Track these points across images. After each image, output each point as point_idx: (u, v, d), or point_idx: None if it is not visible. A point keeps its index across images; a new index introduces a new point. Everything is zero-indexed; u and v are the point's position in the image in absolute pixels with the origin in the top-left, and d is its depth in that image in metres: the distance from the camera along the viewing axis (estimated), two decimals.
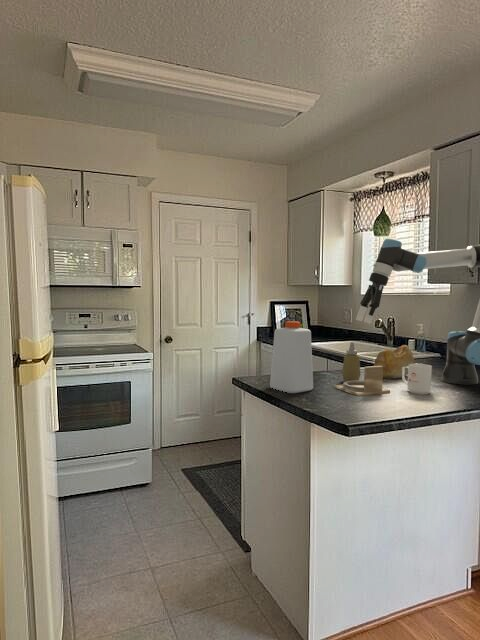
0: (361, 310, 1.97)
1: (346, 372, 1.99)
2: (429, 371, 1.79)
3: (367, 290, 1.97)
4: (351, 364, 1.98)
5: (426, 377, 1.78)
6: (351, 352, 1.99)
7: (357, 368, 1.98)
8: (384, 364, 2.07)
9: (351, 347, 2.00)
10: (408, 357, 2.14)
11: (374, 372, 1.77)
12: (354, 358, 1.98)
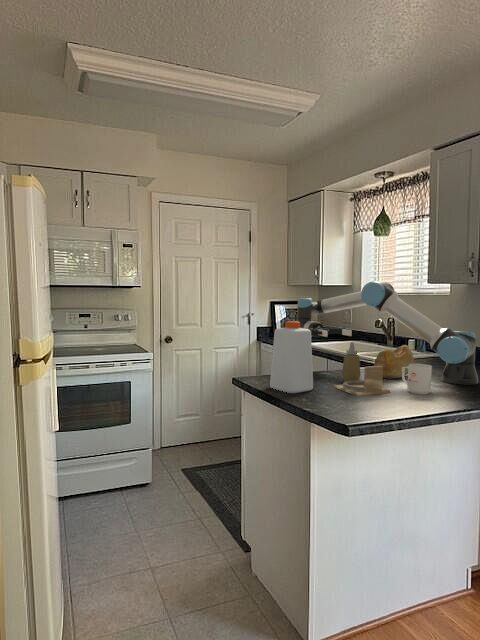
0: (344, 333, 2.16)
1: (346, 372, 1.99)
2: (429, 371, 1.79)
3: None
4: (351, 364, 1.98)
5: (426, 377, 1.78)
6: (351, 352, 1.99)
7: (357, 368, 1.98)
8: (384, 364, 2.07)
9: (351, 347, 2.00)
10: (408, 357, 2.14)
11: (374, 372, 1.77)
12: (354, 358, 1.98)
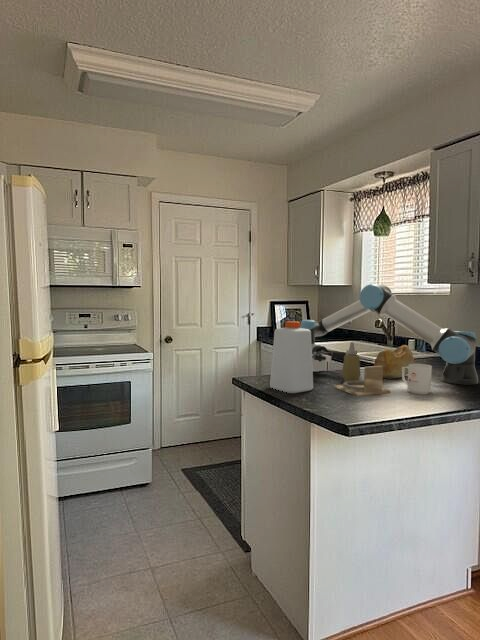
0: None
1: (346, 372, 1.99)
2: (429, 371, 1.79)
3: None
4: (351, 364, 1.98)
5: (426, 377, 1.78)
6: (351, 352, 1.99)
7: (357, 368, 1.98)
8: (384, 364, 2.07)
9: (351, 347, 2.00)
10: (408, 357, 2.14)
11: (374, 372, 1.77)
12: (354, 358, 1.98)
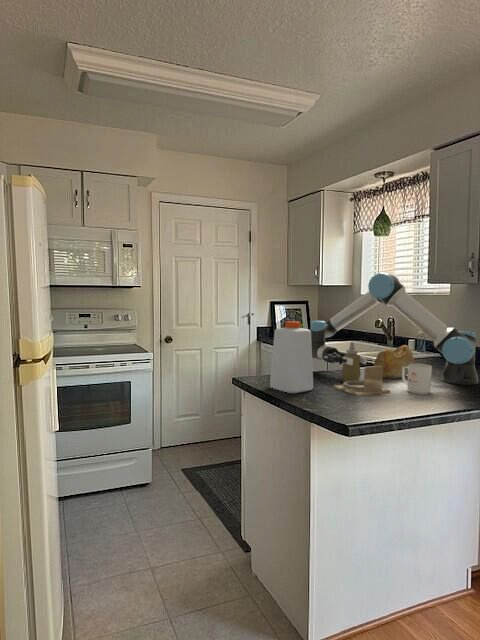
0: None
1: (346, 372, 1.99)
2: (429, 371, 1.79)
3: None
4: None
5: (426, 377, 1.78)
6: (351, 352, 1.99)
7: (357, 368, 1.98)
8: (384, 364, 2.07)
9: (351, 347, 2.00)
10: (408, 357, 2.14)
11: (374, 372, 1.77)
12: (354, 358, 1.98)
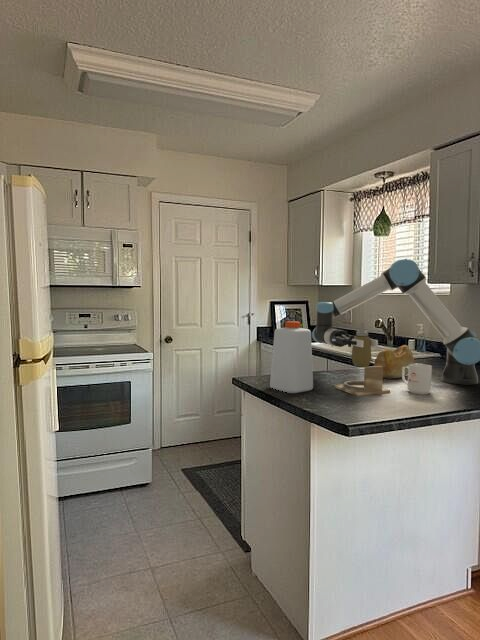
0: None
1: (356, 355, 1.82)
2: (429, 371, 1.79)
3: None
4: (362, 347, 1.81)
5: (426, 377, 1.78)
6: (361, 333, 1.82)
7: (368, 350, 1.82)
8: (384, 364, 2.07)
9: (361, 328, 1.83)
10: (408, 357, 2.14)
11: (374, 372, 1.77)
12: (365, 339, 1.81)
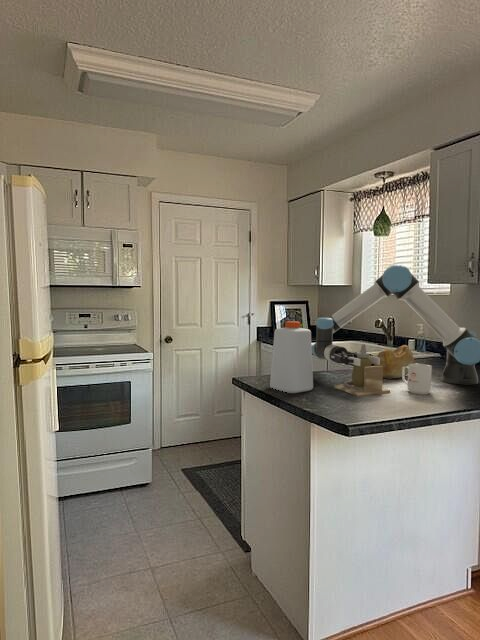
0: (371, 360, 1.86)
1: (356, 376, 1.82)
2: (429, 371, 1.79)
3: None
4: (363, 368, 1.81)
5: (426, 377, 1.78)
6: (362, 355, 1.82)
7: None
8: (384, 364, 2.07)
9: (362, 350, 1.83)
10: (408, 357, 2.14)
11: (374, 372, 1.77)
12: (366, 361, 1.81)
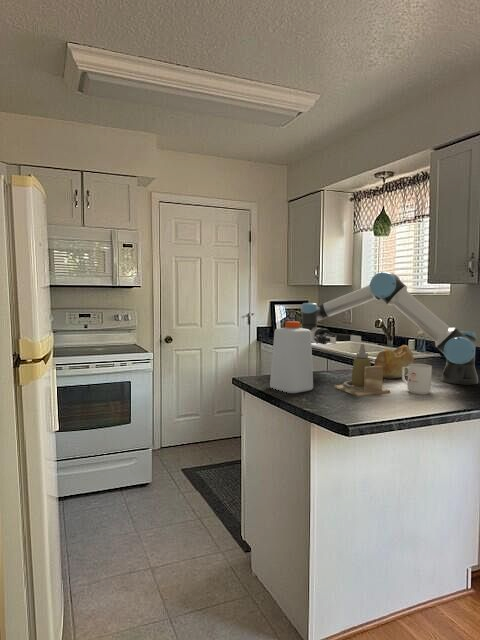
0: (353, 339, 2.04)
1: (356, 377, 1.82)
2: (429, 371, 1.79)
3: None
4: (362, 368, 1.81)
5: (426, 377, 1.78)
6: (361, 355, 1.82)
7: None
8: (384, 364, 2.07)
9: (361, 350, 1.83)
10: (408, 357, 2.14)
11: (374, 372, 1.77)
12: (365, 361, 1.81)
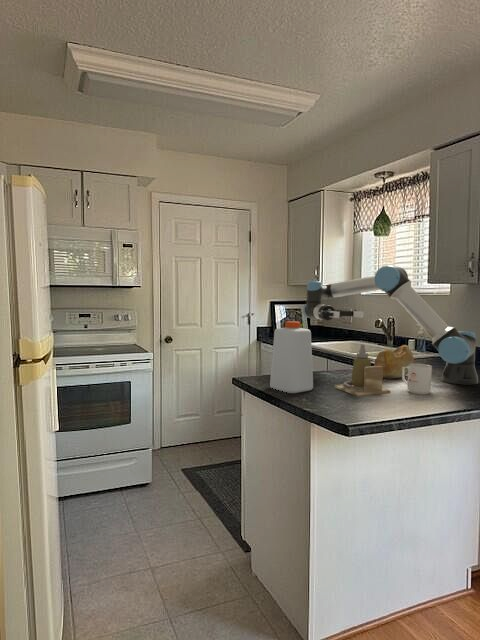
0: (356, 315, 2.10)
1: (356, 377, 1.82)
2: (429, 371, 1.79)
3: None
4: (362, 368, 1.81)
5: (426, 377, 1.78)
6: (362, 355, 1.82)
7: None
8: (384, 364, 2.07)
9: (362, 350, 1.83)
10: (408, 357, 2.14)
11: (374, 372, 1.77)
12: (365, 361, 1.81)
